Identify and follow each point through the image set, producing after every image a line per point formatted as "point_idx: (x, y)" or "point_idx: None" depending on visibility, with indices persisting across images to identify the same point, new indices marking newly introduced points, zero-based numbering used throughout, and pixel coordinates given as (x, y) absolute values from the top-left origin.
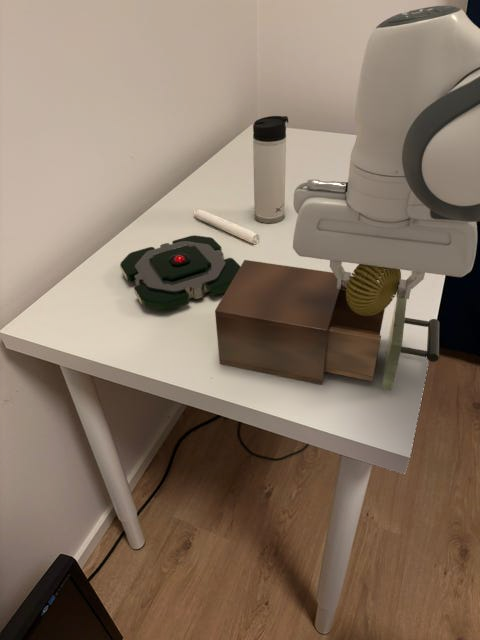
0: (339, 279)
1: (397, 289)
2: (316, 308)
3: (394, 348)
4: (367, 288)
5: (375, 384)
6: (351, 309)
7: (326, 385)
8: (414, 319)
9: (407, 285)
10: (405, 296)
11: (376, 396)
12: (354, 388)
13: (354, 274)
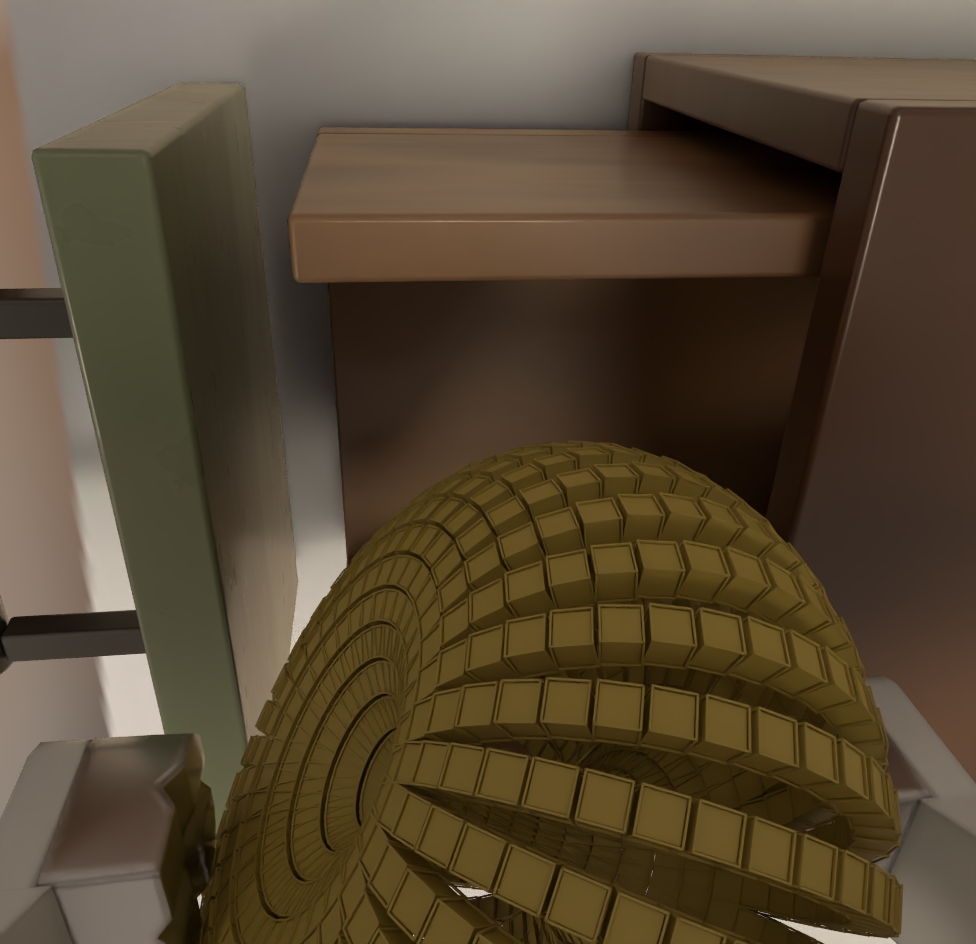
0: (953, 785)
1: (213, 844)
2: (972, 438)
3: (118, 138)
4: (633, 699)
5: (300, 159)
6: None
7: (606, 57)
8: (112, 651)
9: (19, 935)
10: (72, 766)
11: (272, 43)
12: (425, 81)
13: (892, 914)
